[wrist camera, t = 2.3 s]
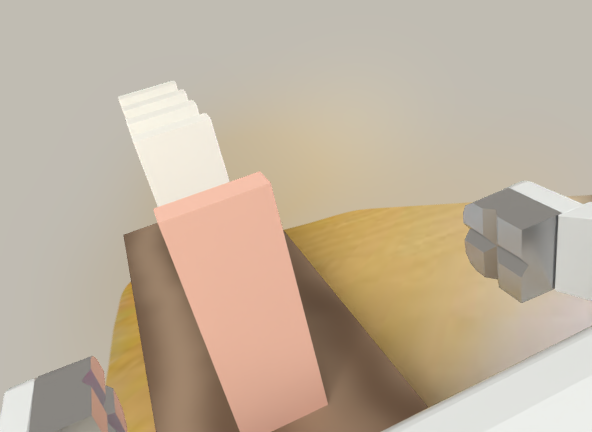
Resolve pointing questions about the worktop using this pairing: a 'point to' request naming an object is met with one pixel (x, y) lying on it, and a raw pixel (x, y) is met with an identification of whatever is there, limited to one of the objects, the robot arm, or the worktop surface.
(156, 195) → the domino
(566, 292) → the robot arm
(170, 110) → the domino
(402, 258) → the worktop surface
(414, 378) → the worktop surface
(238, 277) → the domino
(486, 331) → the worktop surface
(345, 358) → the domino stand
